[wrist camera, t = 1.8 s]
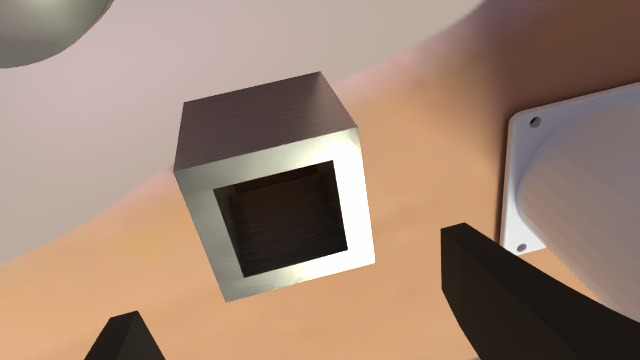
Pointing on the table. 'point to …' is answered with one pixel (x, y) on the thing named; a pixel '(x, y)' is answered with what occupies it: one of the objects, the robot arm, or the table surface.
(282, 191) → the hollow square tube
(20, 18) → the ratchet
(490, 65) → the table surface
